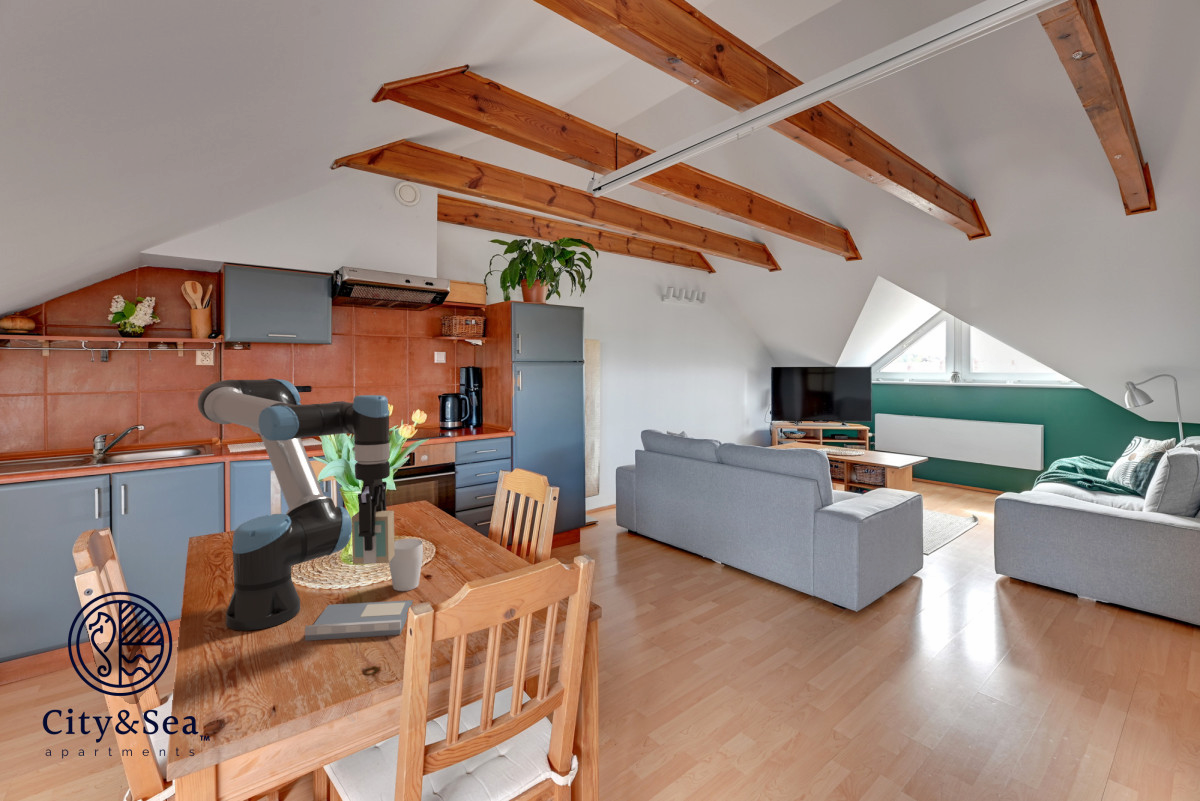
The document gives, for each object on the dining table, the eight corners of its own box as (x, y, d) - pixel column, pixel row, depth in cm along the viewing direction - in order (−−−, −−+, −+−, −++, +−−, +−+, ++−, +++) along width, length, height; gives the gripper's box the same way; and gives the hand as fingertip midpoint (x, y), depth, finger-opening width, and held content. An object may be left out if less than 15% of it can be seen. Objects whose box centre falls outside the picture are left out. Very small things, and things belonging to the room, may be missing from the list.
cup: (411, 594, 140) (411, 550, 139) (381, 591, 142) (380, 547, 141) (429, 581, 149) (429, 539, 148) (400, 578, 150) (400, 537, 150)
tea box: (352, 564, 122) (351, 517, 121) (360, 556, 127) (359, 511, 126) (388, 563, 122) (387, 516, 122) (394, 555, 128) (393, 510, 127)
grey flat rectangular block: (304, 641, 116) (304, 628, 116) (328, 609, 131) (328, 597, 131) (400, 635, 119) (399, 622, 119) (412, 604, 134) (412, 593, 134)
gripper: (368, 455, 132) (370, 546, 133) (340, 468, 114) (343, 573, 115) (399, 454, 133) (401, 545, 134) (376, 468, 115) (378, 572, 116)
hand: (374, 558), depth 125 cm, fingers closed on tea box, 5 cm apart
